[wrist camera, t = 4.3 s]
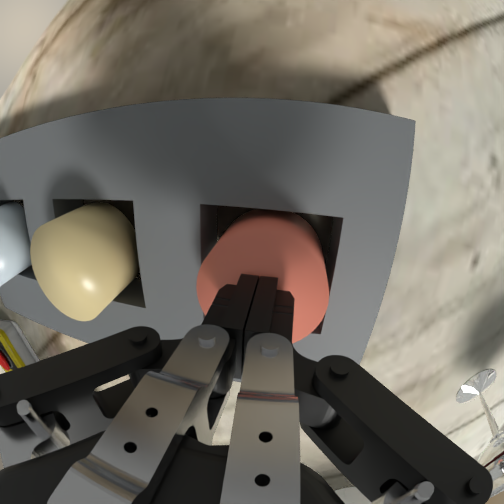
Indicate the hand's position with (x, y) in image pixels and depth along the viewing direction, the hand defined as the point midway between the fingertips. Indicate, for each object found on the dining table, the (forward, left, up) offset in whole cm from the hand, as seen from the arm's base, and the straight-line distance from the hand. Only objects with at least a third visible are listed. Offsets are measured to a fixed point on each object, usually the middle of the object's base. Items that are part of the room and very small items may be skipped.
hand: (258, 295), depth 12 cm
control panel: (+7, +7, -5) cm, 11 cm away
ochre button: (+7, +7, -3) cm, 10 cm away
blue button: (+14, +14, -3) cm, 20 cm away
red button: (0, 0, -4) cm, 4 cm away
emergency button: (+12, +40, -6) cm, 42 cm away
